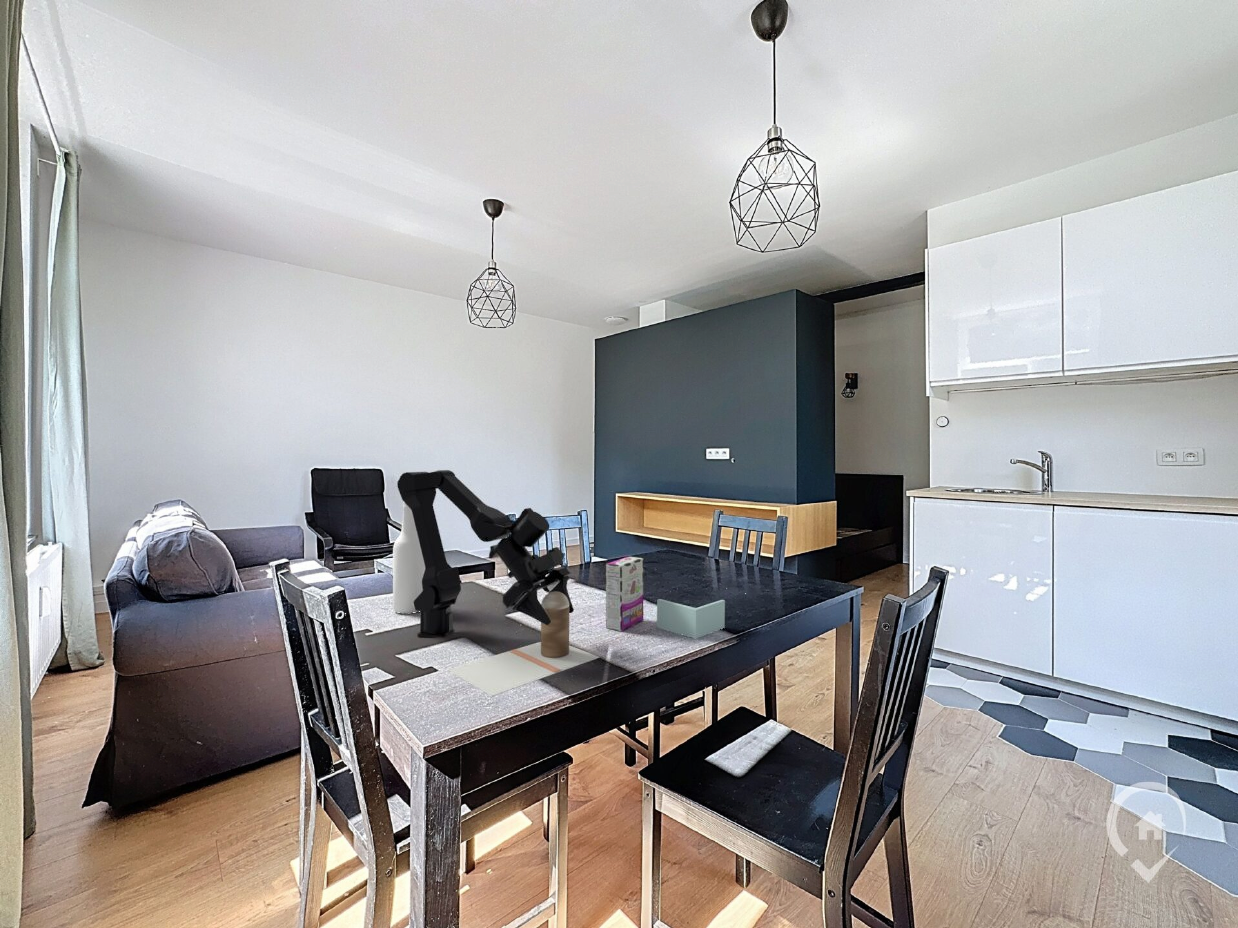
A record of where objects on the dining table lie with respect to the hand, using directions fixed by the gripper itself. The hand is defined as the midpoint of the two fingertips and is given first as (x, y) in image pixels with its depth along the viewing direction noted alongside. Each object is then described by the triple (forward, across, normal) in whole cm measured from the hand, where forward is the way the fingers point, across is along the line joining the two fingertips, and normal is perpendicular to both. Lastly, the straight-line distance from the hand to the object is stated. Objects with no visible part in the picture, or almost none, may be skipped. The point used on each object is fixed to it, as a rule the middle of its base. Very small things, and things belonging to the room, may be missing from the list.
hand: (561, 617), depth 114 cm
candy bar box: (+8, +27, +4) cm, 28 cm away
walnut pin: (+4, 0, +6) cm, 8 cm away
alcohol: (-33, +11, +45) cm, 57 cm away
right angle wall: (+20, +32, -6) cm, 38 cm away
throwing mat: (+4, -8, +9) cm, 12 cm away
